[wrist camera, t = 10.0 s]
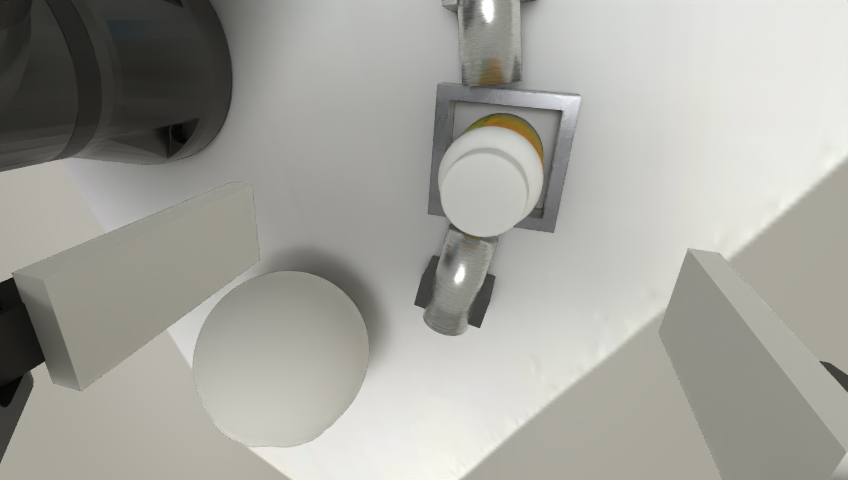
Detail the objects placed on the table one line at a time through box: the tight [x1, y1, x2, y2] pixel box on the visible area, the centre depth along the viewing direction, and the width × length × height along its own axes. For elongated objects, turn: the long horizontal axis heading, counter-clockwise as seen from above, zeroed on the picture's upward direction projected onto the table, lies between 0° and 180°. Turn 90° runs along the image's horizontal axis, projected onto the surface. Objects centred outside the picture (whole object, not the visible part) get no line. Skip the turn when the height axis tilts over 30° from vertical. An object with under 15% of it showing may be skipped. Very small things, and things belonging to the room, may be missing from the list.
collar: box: [428, 83, 581, 233], centre depth 27 cm, size 8×8×2 cm
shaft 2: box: [414, 223, 498, 336], centre depth 29 cm, size 7×5×5 cm
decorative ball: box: [193, 271, 369, 447], centre depth 31 cm, size 12×12×12 cm
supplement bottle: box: [438, 113, 544, 237], centre depth 24 cm, size 5×5×10 cm
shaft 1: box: [442, 0, 534, 87], centre depth 23 cm, size 7×5×5 cm
